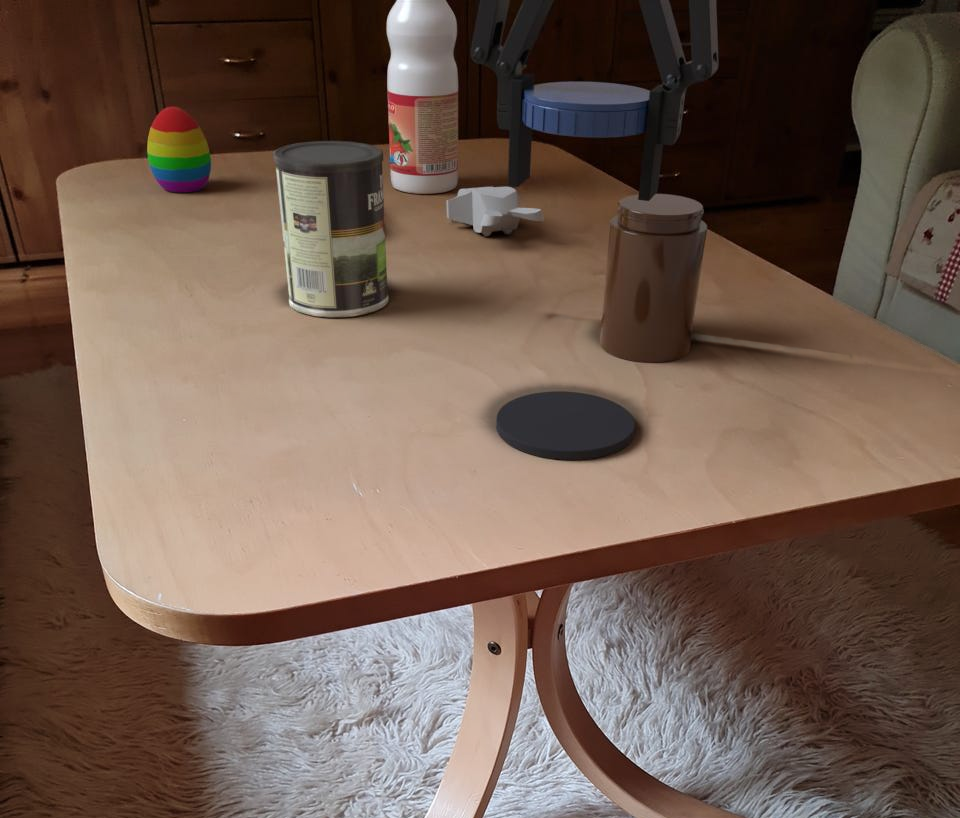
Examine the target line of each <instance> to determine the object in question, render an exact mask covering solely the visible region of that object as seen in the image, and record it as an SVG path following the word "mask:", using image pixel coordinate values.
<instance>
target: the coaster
mask: <svg viewBox="0 0 960 818" xmlns="http://www.w3.org/2000/svg"><path fill="white" fill-rule="evenodd" d="M496 414H497V415H496V416H495V417H496V418H495V419H496V421H495V428H496V432H497V434H498V436H499V437H500V439H502V440H503V442H505V443H506V444H507V445H509V446H510V447H512V448H514V449H516V450H518V451H520V452H523V453H526V454H527V455H528V454H529V455H532V456H536V457H540V458H544V459H552V460H562V461H582V460H583V461H584V460H591V459H592V460H593V459H599V458H602V457H606V456H610V455H612V454H615V453H617V452H619V451H621V450H623V449H624V448H626V447H627V446H628V445H630V443H632V440H633V438H634V436H635V429H636V422H635V418H634V417H633V415H632V414H631V413H630V411H629V410H628V409H626V408H625V407H624V406H622V405H621V404H619V403H617V402H616V401H613V400H610V399H608V398H605V397H602V396H598V395H594V394H589V393H585V392H576V391H563V390H562V391H560V390H559V391H556V390H553V391H540V392H534V393H529V394H525V395H522V396H519V397H516V398H513V399H512V400H510V401H508V402H506V403H505V404H503V406H501V407H500V408H499V410H498V411H497V413H496Z"/></svg>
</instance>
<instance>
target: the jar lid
mask: <svg viewBox="0 0 960 818" xmlns="http://www.w3.org/2000/svg"><path fill="white" fill-rule="evenodd" d="M650 91H651V90H649V89H646V88H642V87H639V86H633V85H628V84H620V83H613V82H601V81H600V82H599V81H554V82H545V83H537V84H534V85H533V86H530V87H528V88H526V89H525V91H524V99H523V106H522V121H523V122H524V124H525V125H526V126H527V127H529V128H531V129H532V130H534V131H537V132H541V133H546V134H549V135H550V134H551V135H555V136H556V135H557V136H564V137H565V136H566V137H576V138H593V139H594V138H596V139H597V138H600V139H601V138H621V137H622V138H623V137H630V136H636V135H641V134H643V133H644V134H645V131H646V122H647V112H648V103H649V94H650Z"/></svg>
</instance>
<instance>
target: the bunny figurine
mask: <svg viewBox="0 0 960 818" xmlns="http://www.w3.org/2000/svg"><path fill="white" fill-rule="evenodd" d="M445 203H446V218H447V219H448V220H450V221H454V222H458V223H462V224H467V225H470V226H473V227H472V229H473V231H474V232H475V233H479V234H480V233H481V234H482V235H483V236H484V237H489V236H491V235H492V233H493V232H502V233H503V234H504V235H510V234H511V233H512V232H513V230H517V229H518V226H519V223H520V220H521V219H525V220H529V221H537V222H543V221H545V217H544V214H543V212H542V209H541V208H534V207H520V194H519V193H517V190H516V189H515V188H513V187H511V186H496V187H494V186H493V185H492V186H481V187H480V186H479V187H469V188H459V190H458V192H457V195H456V196H455V197H453V198H449V199H447V200H445Z"/></svg>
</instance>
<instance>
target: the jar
mask: <svg viewBox="0 0 960 818" xmlns="http://www.w3.org/2000/svg"><path fill="white" fill-rule="evenodd" d="M638 195H639V194H633V195H629V196H625V197H623V198H621V199H620V200H619V201H618V202H617V205H618V207H617V209H616V211H617V215H615V216H614V217H612V218H611V219H610V224H609V235H608V237H609V238H608V247H607V258H606V270H605V279H604V291H603V303H602V312H601V313H602V314H601V325H600V326H601V327H600V335H599V345H600V347H601V349H602V350H604V352H606V353H608V354H609V355H612V357H613V356H614V357H617V358H619V359H623V360H627V361H632V362H639V363H664V362H665V363H666V362H670V361H675V360H679V359H681V358H682V357H685V356H686V355H687V354H689V351H690V349H691V342H692V334H693V328H694V321H695V313H696V307H697V299H698V294H699V287H700V280H701V273H702V266H703V260H704V252H705V246H706V240H707V232H708V225H707V223H706V222H705V221H703V220H702V218H703V215H704V214H705V211H704V206H703V204H702V203H701V202H699V201H697V200H696V199H692V198H689V197H686V196H682V195H676V194H669V193H668V194H667V193H656V194H655V195H654V196H653V197H652V198H651V199H650V201H643V200H638Z"/></svg>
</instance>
